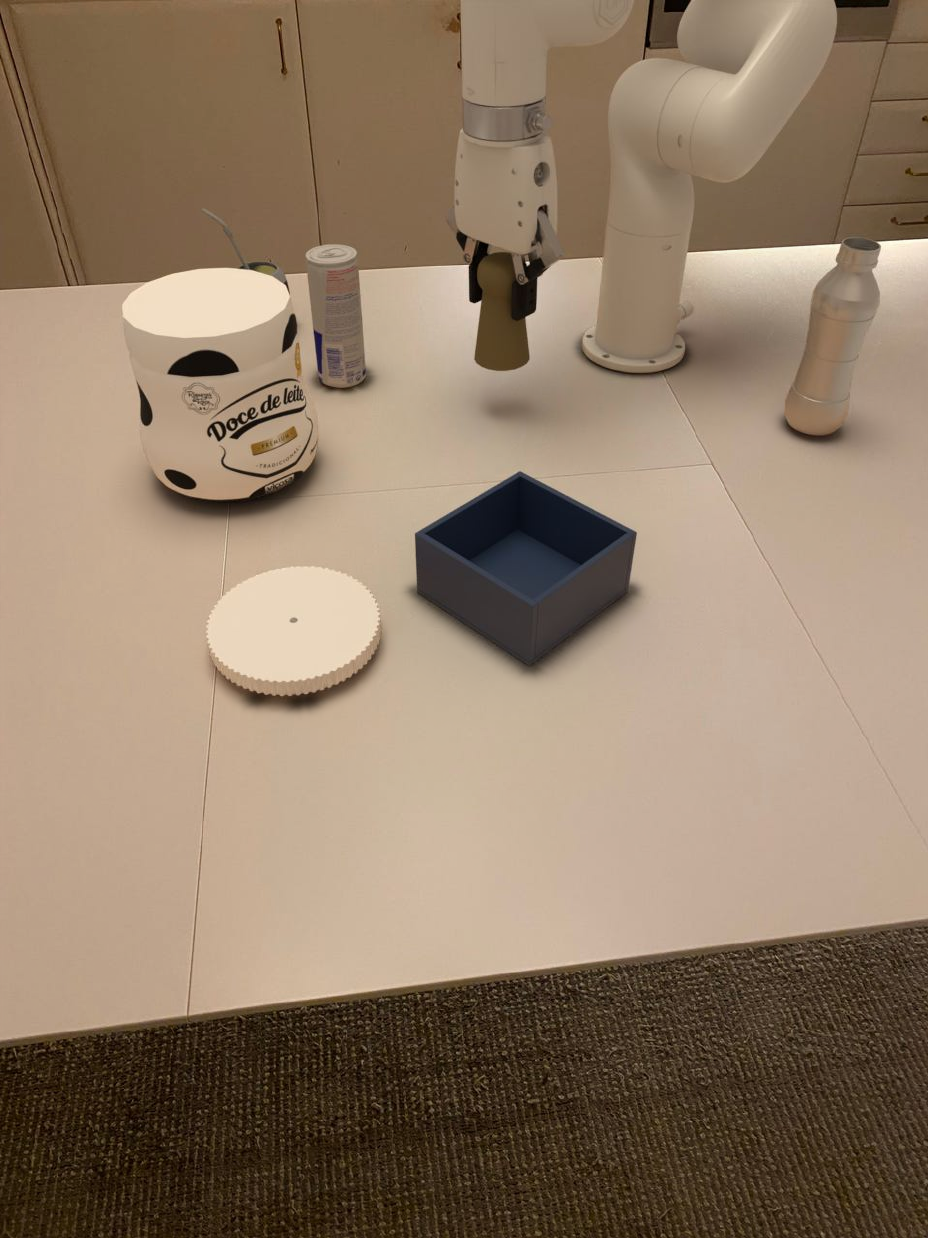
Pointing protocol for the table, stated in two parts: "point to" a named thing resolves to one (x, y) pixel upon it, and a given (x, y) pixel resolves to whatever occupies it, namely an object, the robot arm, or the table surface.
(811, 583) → the table surface
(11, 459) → the table surface
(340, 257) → the beverage can
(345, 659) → the plastic lid
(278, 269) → the mate gourd
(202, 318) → the milk container
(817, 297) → the plastic bottle
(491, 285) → the olive brown pawn
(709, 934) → the table surface
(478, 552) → the blue square bin
